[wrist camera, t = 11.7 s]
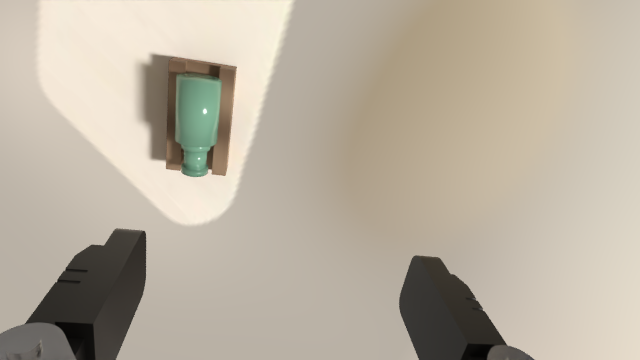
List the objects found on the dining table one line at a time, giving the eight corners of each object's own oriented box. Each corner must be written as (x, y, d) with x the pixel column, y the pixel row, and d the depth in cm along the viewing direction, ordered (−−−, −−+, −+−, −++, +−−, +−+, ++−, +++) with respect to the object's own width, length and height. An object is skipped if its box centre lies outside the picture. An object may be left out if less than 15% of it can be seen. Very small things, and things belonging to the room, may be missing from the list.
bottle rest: (174, 56, 39) (168, 60, 37) (236, 66, 40) (234, 70, 39) (170, 160, 44) (166, 168, 42) (227, 167, 45) (225, 175, 43)
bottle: (180, 71, 39) (173, 79, 35) (223, 77, 39) (220, 86, 36) (177, 161, 42) (170, 177, 39) (216, 165, 43) (213, 181, 40)
